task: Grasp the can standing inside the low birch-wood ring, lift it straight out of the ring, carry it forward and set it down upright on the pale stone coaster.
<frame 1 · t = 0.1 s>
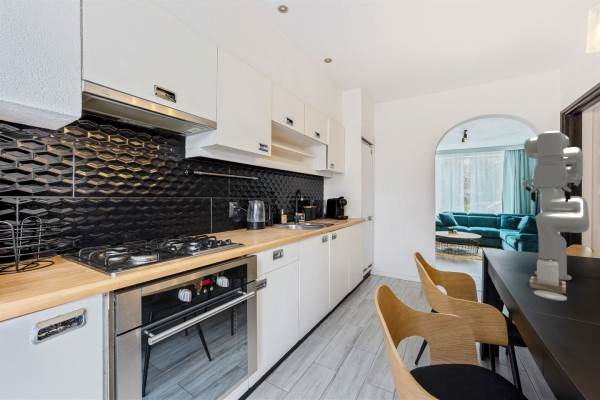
hand: (550, 201, 105), 37 cm above the table, tool pointing down, fingers open, 9 cm apart
coaster: (549, 296, 96), on the table
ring: (547, 287, 106), on the table
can: (547, 287, 106), resting in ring
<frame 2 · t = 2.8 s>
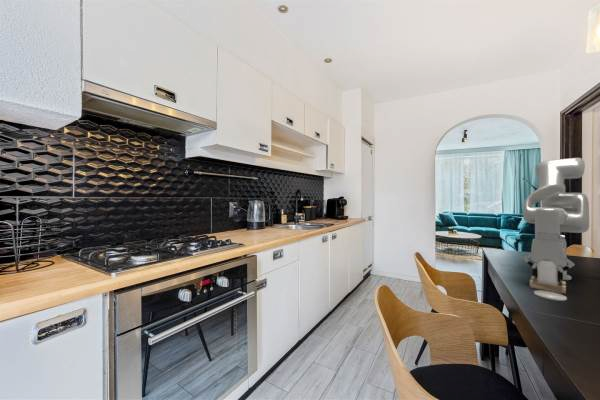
hand: (547, 278, 106), 4 cm above the table, tool pointing down, fingers closed on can, 6 cm apart
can: (547, 287, 106), resting in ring, touching gripper
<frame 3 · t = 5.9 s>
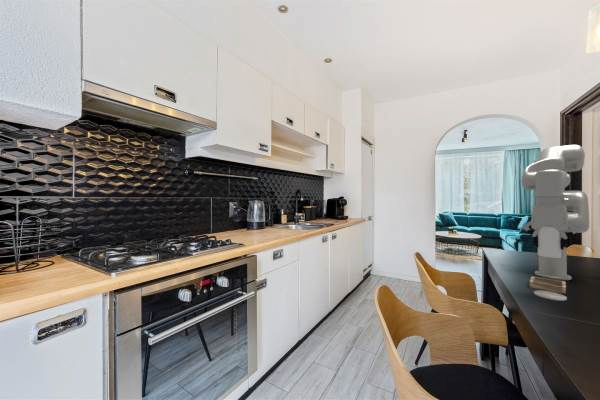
hand: (549, 247, 96), 19 cm above the table, tool pointing down, fingers closed on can, 6 cm apart
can: (549, 257, 96), point 15 cm above the table, touching gripper
when the fingers open (6 cm above the table, at t = 8.7 s): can drops 1 cm, resting on coaster.
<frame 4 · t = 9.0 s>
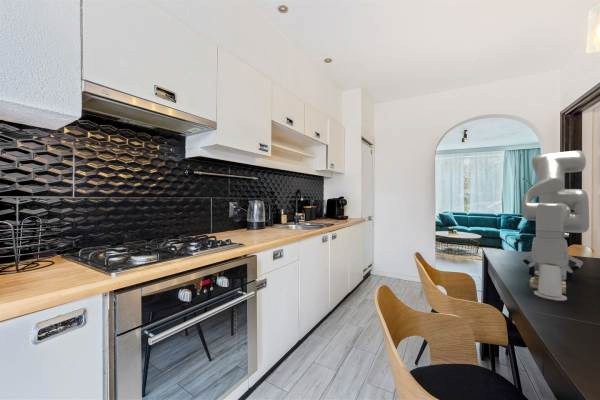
hand: (549, 279, 96), 6 cm above the table, tool pointing down, fingers open, 9 cm apart
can: (549, 294, 96), resting on coaster
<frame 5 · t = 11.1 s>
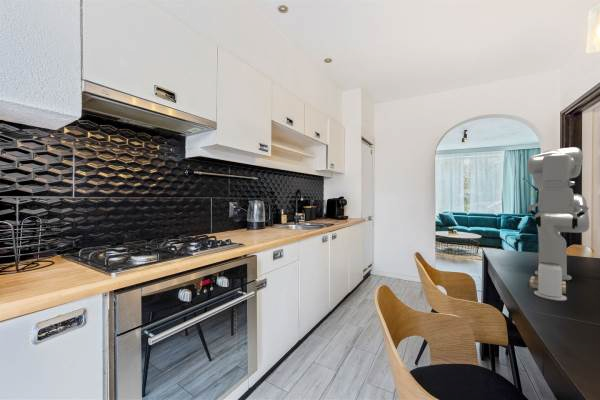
hand: (555, 227, 101), 26 cm above the table, tool pointing down, fingers open, 9 cm apart
nothing on the table moved.
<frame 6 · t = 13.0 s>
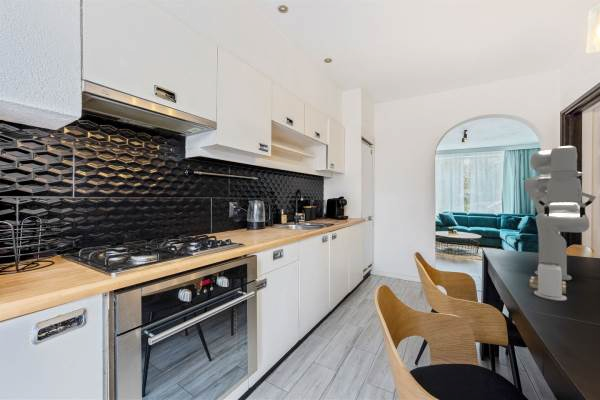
hand: (563, 216, 105), 30 cm above the table, tool pointing down, fingers open, 9 cm apart
nothing on the table moved.
at the end: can inside the target area on the coaster (0.1 cm from its centre), point 0.4 cm above the coaster's base; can tilted 0°; the gripper is holding nothing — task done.
